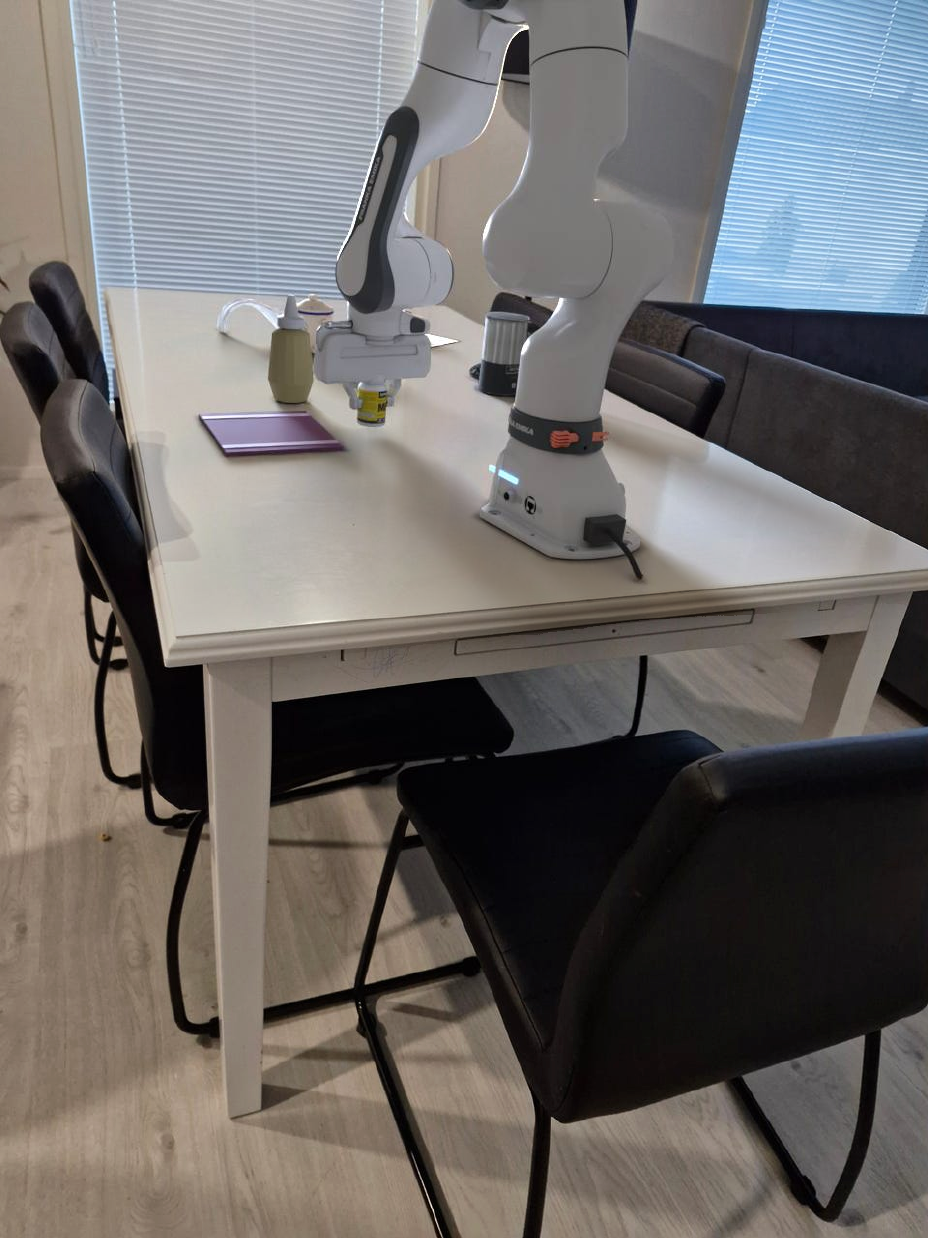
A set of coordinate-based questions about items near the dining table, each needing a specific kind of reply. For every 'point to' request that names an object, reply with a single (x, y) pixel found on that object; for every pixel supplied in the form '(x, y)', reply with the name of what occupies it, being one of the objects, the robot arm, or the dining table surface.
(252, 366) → the dining table surface
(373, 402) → the supplement bottle
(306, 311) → the teacup with lid
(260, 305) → the clear curved arch
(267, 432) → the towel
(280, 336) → the squeeze bottle
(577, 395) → the robot arm
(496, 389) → the milk frother
